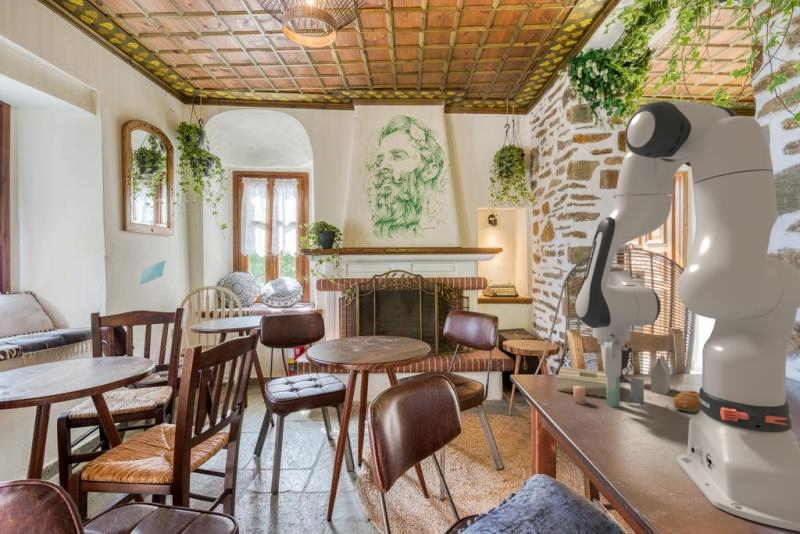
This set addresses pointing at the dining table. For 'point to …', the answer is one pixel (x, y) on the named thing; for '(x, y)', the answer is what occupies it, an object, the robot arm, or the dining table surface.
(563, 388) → the hole block
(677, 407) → the pastry
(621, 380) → the sundae
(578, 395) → the short dowel
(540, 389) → the dining table surface
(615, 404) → the long dowel
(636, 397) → the medium dowel
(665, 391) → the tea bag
